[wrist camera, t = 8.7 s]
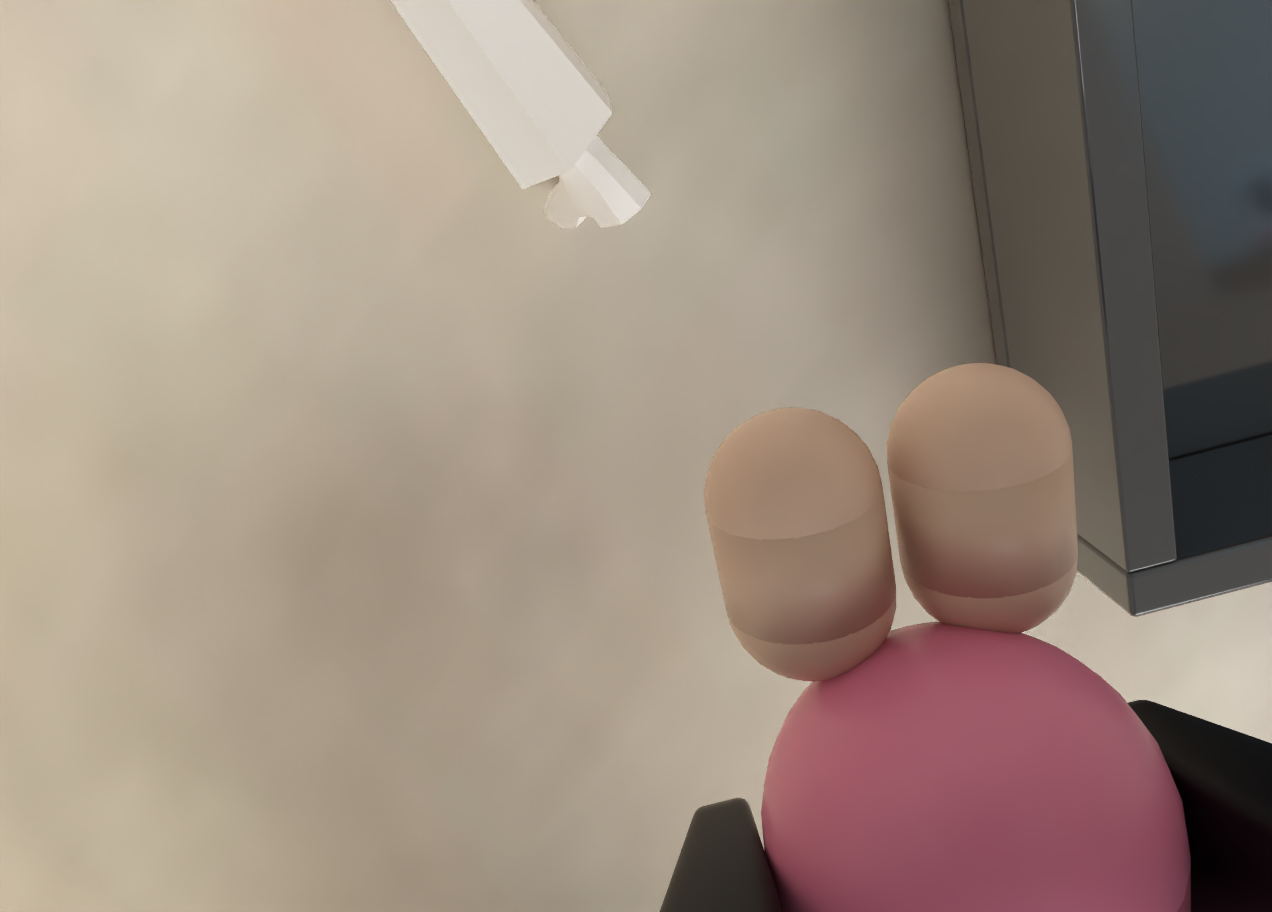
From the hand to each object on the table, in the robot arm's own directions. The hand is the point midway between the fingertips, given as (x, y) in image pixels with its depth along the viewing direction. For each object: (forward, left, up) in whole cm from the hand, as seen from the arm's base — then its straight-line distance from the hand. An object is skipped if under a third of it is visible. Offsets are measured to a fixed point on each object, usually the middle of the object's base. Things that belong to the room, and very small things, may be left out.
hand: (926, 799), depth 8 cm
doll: (0, 0, -1) cm, 1 cm away
